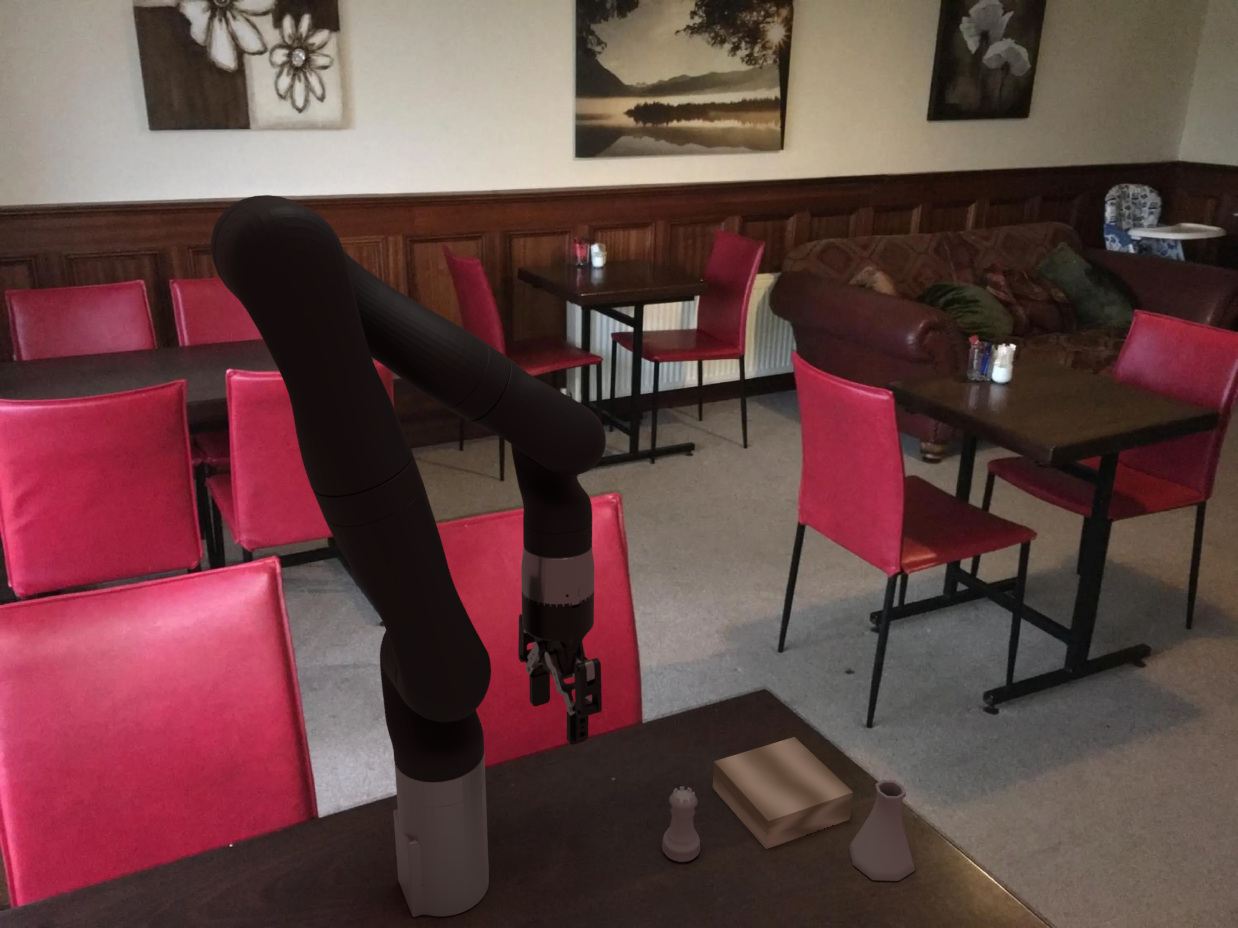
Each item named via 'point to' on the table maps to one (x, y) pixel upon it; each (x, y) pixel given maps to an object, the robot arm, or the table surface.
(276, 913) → the table surface
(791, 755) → the maple plinth
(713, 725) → the table surface
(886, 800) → the flask
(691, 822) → the rook chess piece
